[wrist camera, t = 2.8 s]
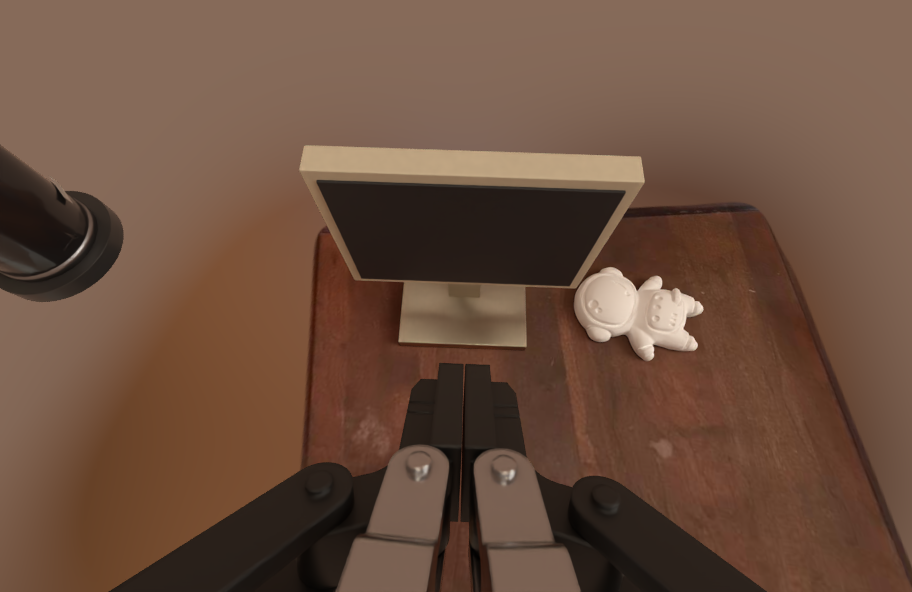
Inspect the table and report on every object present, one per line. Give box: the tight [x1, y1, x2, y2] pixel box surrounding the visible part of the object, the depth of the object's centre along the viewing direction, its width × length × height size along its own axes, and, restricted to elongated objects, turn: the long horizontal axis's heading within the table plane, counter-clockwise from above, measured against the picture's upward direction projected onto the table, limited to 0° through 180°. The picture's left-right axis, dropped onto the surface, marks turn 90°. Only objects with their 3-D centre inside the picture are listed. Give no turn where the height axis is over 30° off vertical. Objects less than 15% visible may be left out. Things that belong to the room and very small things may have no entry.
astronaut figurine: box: [574, 267, 703, 361], centre depth 42 cm, size 9×12×3 cm
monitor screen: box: [299, 145, 645, 288], centre depth 28 cm, size 2×17×13 cm, turn 88°
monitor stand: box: [398, 282, 527, 350], centre depth 38 cm, size 9×12×12 cm
